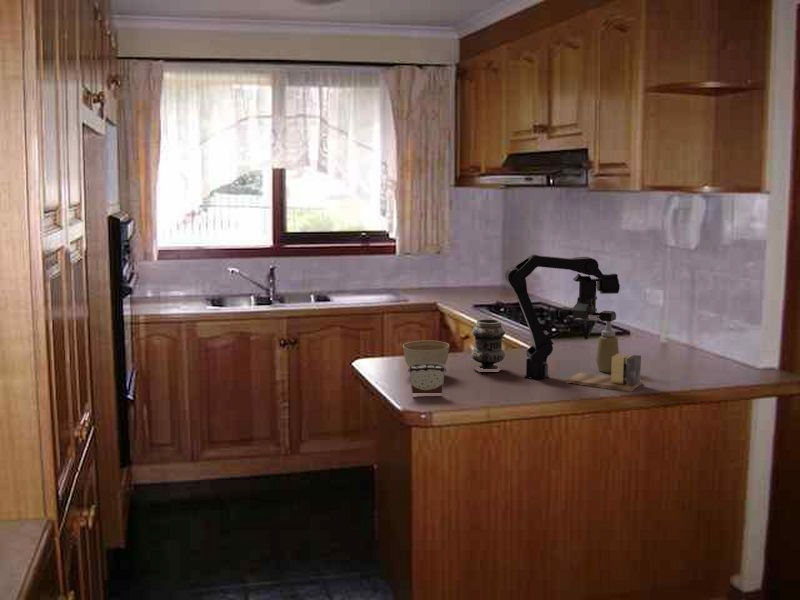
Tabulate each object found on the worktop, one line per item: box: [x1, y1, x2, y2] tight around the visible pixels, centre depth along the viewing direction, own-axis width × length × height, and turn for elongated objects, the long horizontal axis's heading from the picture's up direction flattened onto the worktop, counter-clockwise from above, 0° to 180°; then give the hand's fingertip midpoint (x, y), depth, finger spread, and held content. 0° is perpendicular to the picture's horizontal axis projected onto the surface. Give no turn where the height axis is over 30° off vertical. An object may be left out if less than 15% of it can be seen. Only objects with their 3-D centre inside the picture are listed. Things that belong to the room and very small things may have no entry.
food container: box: [407, 362, 448, 394], centre depth 275 cm, size 12×6×10 cm, turn 92°
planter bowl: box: [402, 340, 450, 368], centre depth 300 cm, size 16×16×11 cm
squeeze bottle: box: [595, 321, 620, 373], centre depth 304 cm, size 8×8×18 cm
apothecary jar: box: [470, 318, 506, 369], centre depth 307 cm, size 12×12×18 cm
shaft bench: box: [565, 354, 643, 392], centre depth 287 cm, size 22×12×10 cm, turn 58°
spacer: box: [610, 353, 630, 384], centre depth 284 cm, size 4×6×9 cm, turn 148°
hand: (586, 339), depth 297 cm, fingers closed
